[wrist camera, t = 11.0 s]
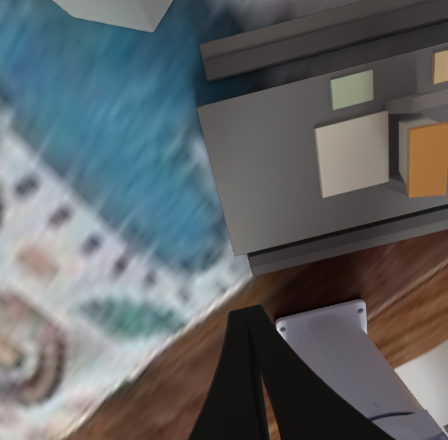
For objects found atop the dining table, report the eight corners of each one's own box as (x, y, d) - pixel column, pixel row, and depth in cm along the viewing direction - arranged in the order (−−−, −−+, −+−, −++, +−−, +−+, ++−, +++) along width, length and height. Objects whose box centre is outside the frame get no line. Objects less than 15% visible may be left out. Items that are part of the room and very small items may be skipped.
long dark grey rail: (554, -8, 16) (591, -22, 14) (207, 83, 16) (207, 79, 15) (561, -45, 15) (600, -63, 14) (199, 51, 16) (199, 43, 14)
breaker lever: (421, 168, 16) (445, 197, 12) (395, 171, 17) (408, 199, 13) (424, 111, 15) (450, 120, 11) (395, 116, 16) (410, 128, 11)
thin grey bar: (518, 201, 21) (542, 207, 19) (250, 267, 21) (253, 277, 20) (521, 179, 20) (547, 183, 18) (245, 247, 20) (249, 257, 19)
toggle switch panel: (590, 155, 20) (687, 162, 16) (232, 244, 20) (238, 273, 16) (633, -4, 16) (770, -46, 12) (197, 109, 17) (194, 104, 13)
